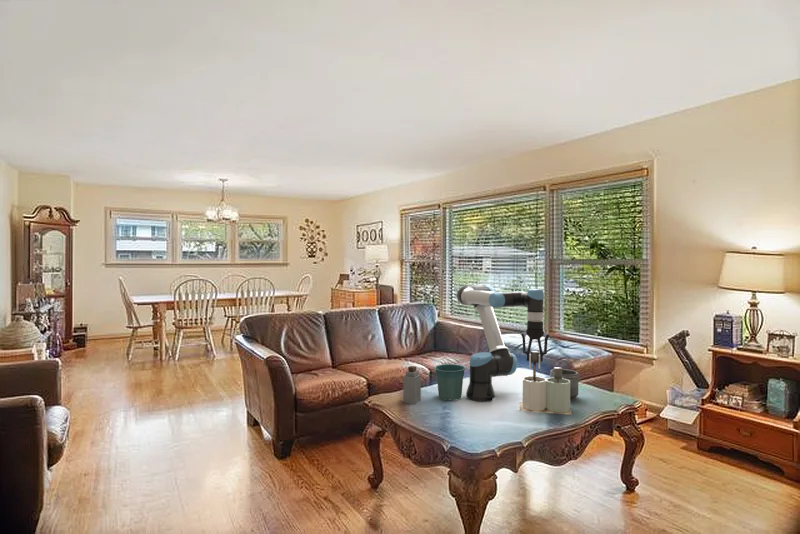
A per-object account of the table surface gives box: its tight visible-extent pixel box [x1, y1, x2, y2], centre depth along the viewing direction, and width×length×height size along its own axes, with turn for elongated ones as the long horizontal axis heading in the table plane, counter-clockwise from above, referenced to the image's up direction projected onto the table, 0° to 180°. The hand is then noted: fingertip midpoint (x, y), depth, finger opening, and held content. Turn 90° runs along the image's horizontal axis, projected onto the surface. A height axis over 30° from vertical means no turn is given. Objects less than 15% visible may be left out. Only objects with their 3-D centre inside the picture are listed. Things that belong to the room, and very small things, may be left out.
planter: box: [549, 368, 580, 402], centre depth 248 cm, size 14×14×15 cm
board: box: [518, 401, 573, 416], centre depth 231 cm, size 24×14×1 cm, turn 76°
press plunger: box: [528, 350, 541, 382], centre depth 231 cm, size 8×8×15 cm
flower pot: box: [434, 363, 466, 401], centre depth 251 cm, size 16×16×16 cm
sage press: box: [545, 366, 571, 413], centre depth 231 cm, size 11×14×20 cm
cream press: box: [522, 375, 546, 411], centre depth 233 cm, size 11×14×14 cm
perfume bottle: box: [402, 365, 422, 405], centre depth 244 cm, size 7×7×18 cm
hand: (534, 367), depth 231 cm, fingers closed on press plunger, 4 cm apart
